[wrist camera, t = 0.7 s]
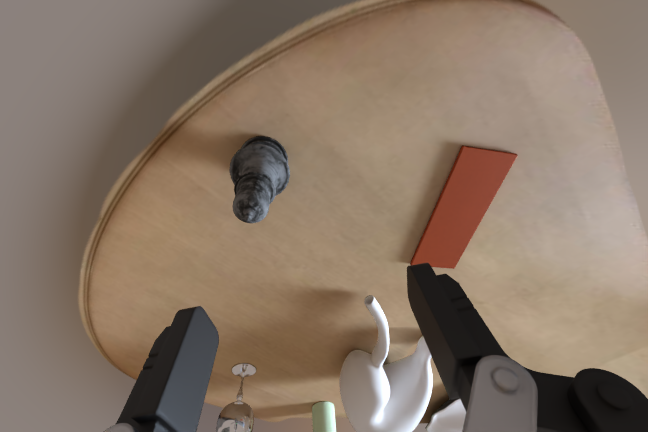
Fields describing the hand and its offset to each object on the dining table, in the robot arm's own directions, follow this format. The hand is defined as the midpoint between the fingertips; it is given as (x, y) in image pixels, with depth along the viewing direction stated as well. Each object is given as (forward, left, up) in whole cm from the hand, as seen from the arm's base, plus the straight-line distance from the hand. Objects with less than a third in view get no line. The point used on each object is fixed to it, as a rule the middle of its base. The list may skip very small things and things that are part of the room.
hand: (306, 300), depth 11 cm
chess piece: (0, -5, -22) cm, 23 cm away
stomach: (+40, -13, -22) cm, 48 cm away
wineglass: (+29, -36, -22) cm, 51 cm away
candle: (+52, -34, -22) cm, 66 cm away
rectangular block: (+21, +10, -22) cm, 32 cm away
